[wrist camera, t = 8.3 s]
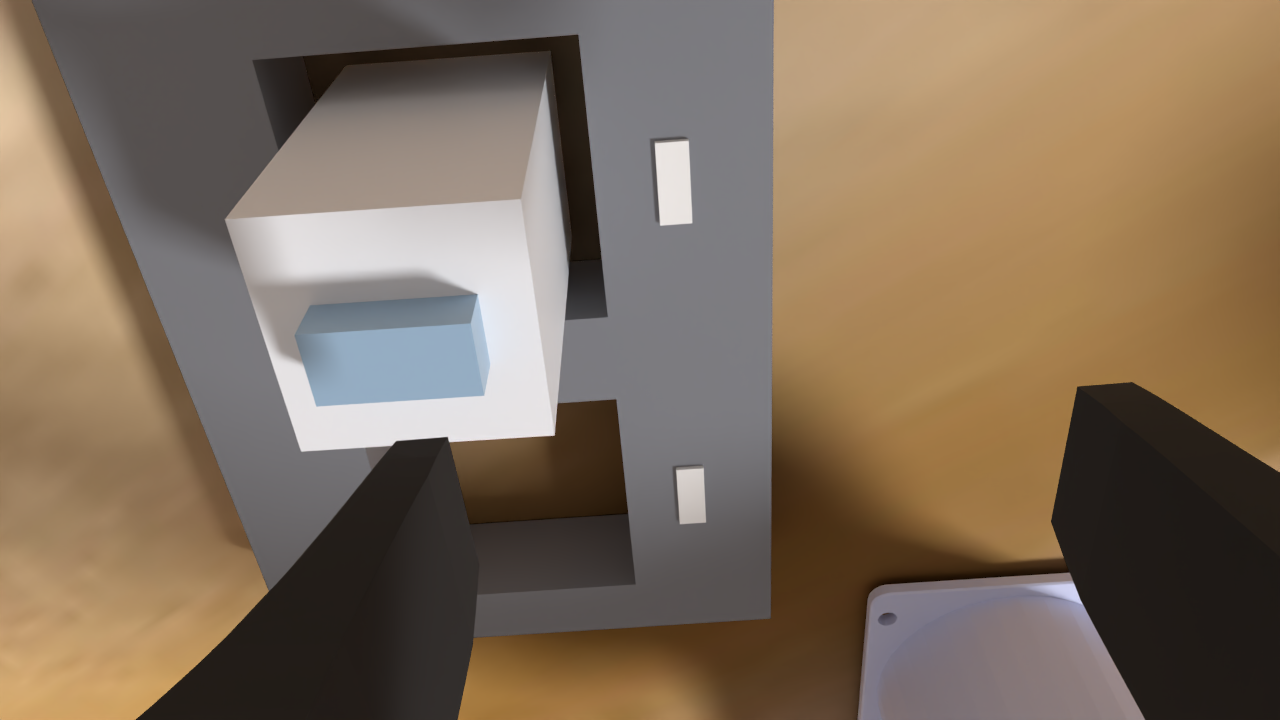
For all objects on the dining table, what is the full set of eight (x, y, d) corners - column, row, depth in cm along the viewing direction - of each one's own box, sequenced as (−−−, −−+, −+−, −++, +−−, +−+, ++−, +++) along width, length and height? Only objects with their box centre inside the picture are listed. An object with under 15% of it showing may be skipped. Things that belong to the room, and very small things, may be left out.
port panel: (758, 546, 26) (771, 621, 24) (318, 575, 26) (291, 652, 24) (754, -103, 17) (774, -78, 15) (93, -50, 18) (20, -17, 15)
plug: (572, 236, 21) (551, 469, 14) (388, 249, 21) (286, 485, 15) (550, 50, 19) (515, 225, 12) (346, 64, 19) (203, 246, 12)
